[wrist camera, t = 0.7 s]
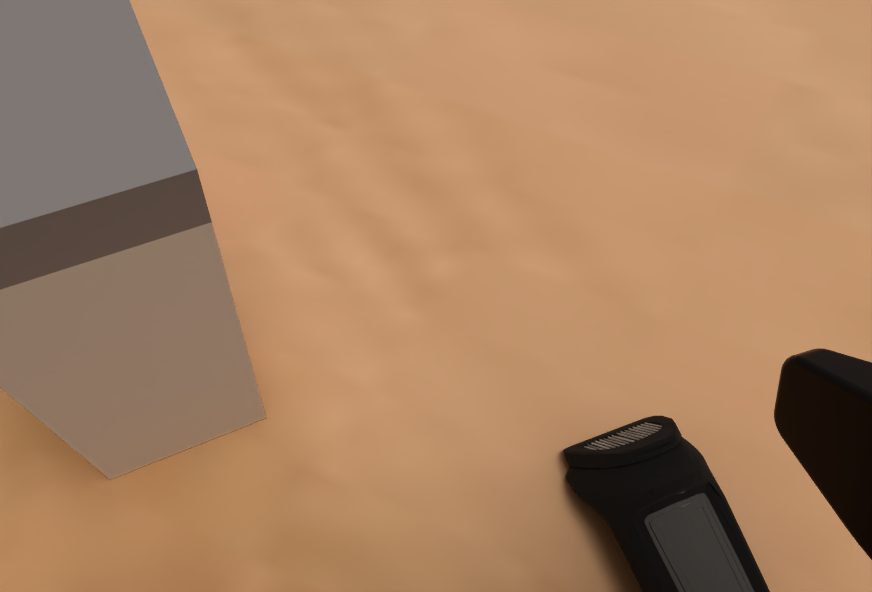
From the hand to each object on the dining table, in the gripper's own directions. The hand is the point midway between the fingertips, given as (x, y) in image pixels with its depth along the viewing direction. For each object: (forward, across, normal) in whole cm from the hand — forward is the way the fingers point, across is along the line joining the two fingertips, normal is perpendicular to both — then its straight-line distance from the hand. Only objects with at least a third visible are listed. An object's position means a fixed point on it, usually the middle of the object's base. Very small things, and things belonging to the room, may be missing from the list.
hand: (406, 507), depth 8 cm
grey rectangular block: (+14, +4, +7) cm, 17 cm away
